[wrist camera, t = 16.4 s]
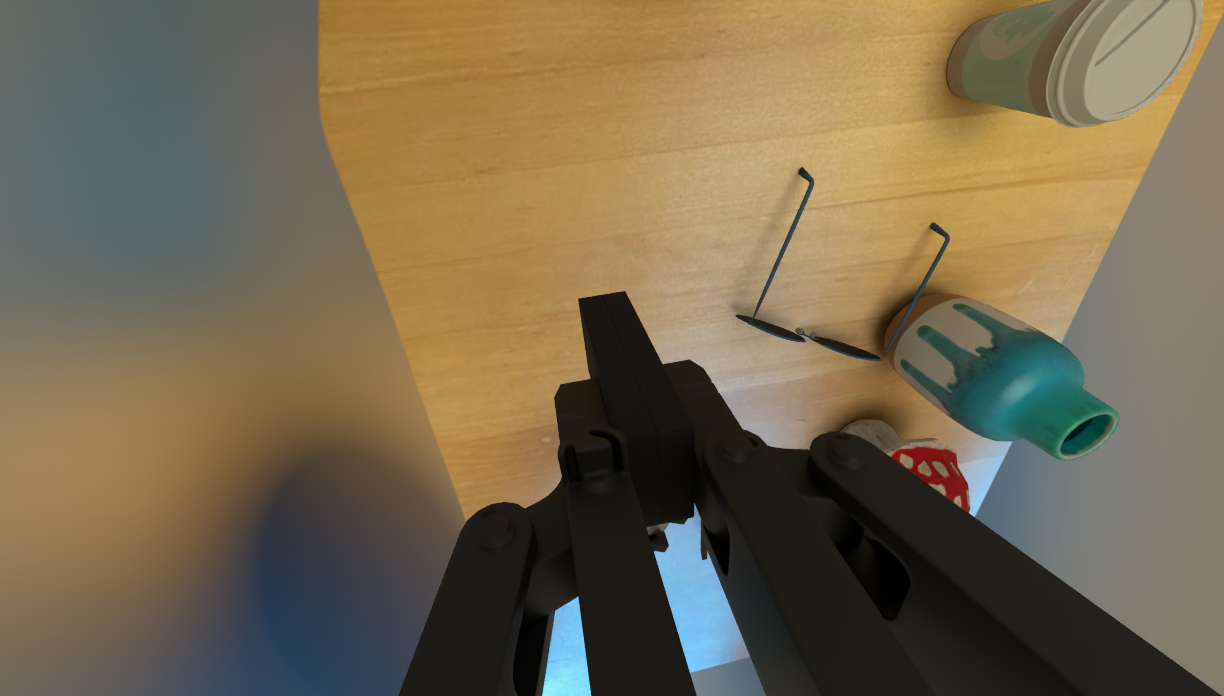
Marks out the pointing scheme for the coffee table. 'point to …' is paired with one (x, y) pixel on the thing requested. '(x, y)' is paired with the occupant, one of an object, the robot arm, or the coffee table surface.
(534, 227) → the coffee table surface
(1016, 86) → the coffee cup
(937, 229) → the sunglasses
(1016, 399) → the vase
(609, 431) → the robot arm
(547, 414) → the coffee table surface
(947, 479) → the decorative mushroom
